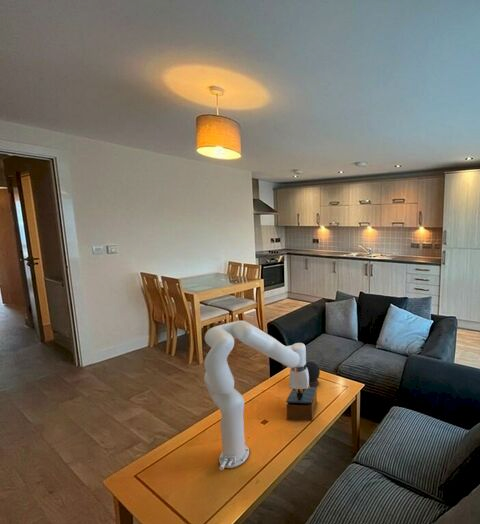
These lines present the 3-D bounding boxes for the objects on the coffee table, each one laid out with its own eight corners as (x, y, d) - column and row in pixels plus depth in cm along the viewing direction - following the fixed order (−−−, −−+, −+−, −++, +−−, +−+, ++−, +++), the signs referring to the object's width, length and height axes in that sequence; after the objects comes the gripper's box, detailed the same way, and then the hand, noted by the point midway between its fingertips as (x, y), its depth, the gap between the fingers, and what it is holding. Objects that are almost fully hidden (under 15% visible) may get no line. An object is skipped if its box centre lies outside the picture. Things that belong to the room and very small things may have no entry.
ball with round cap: (310, 392, 177) (310, 370, 175) (295, 385, 184) (294, 364, 182) (323, 382, 188) (323, 361, 186) (308, 376, 195) (308, 356, 193)
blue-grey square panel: (311, 403, 150) (311, 401, 150) (285, 402, 151) (285, 400, 151) (316, 388, 167) (316, 387, 167) (293, 387, 167) (293, 386, 167)
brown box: (311, 420, 153) (311, 405, 151) (286, 419, 153) (286, 404, 152) (316, 402, 168) (316, 388, 167) (294, 401, 169) (293, 387, 167)
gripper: (283, 370, 147) (284, 402, 150) (311, 370, 146) (312, 403, 149) (287, 362, 154) (288, 393, 157) (314, 363, 154) (314, 394, 157)
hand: (300, 398), depth 153 cm, fingers closed
